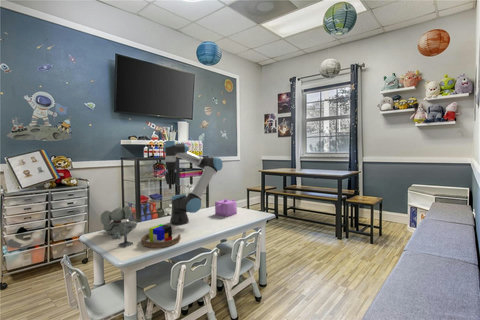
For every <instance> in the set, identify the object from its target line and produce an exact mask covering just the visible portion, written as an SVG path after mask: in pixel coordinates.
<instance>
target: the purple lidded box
mask: <svg viewBox="0 0 480 320" xmlns="http://www.w3.org/2000/svg"><path fill="white" fill-rule="evenodd" d="M237 208H238V207H237V201H236V198H233V199H232V200H229V199H228V198H225V199H221V200H218V201H215V202H214V209H215V210H214V211H215V212H214V213H215V215H217V216H221V217H227V218H229V217H231V216H235V215H237V213H238V212H237V211H238V210H237Z"/></svg>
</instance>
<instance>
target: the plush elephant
mask: <svg viewBox="0 0 480 320" xmlns="http://www.w3.org/2000/svg"><path fill="white" fill-rule="evenodd" d="M131 215H132V208H131V207H130V206H129V205H125V206H124V207H121V206H118V207H117V208H115V209H114V210H112V211H110V210H104V211H103V212H102V213H101V215H100V223H101V224H102V225H103V230H104V231H105V232H108V233H109V234H110V235H114V236H113V237H112V239H115V240H117V238H118V239H119V238H120V239H121V237H122V236H124V223H121V220H123V219H130V217H131ZM130 223H137V222H136V221H131V220H129V222H126V224H130ZM126 227H127V235H128V234H129V232H131V231H132V230H134V229H135V228H136V227H137V225H134V226H126Z"/></svg>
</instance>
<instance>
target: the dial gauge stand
mask: <svg viewBox="0 0 480 320" xmlns="http://www.w3.org/2000/svg"><path fill="white" fill-rule="evenodd" d="M129 219H130V218H129ZM129 219H123V220H121V223H124V235H123V242H121V243H118V247H121V246H122V247H121V248H127V246H128V247H130V246H132V245H133V244H134V243H133V242H132V241H128V234H127V227H126V226H134V225H136V226H137V225H138V223H137V222H136V223H130V224H126V222H129V221H130V220H129ZM131 244H132V245H131ZM129 245H130V246H129Z"/></svg>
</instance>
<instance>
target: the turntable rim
mask: <svg viewBox="0 0 480 320" xmlns="http://www.w3.org/2000/svg"><path fill="white" fill-rule="evenodd" d="M147 240H150V237H149V233H146V234H144V235H143V236H142V237H141V245H142V246H143V247H144V248H145V247H146V248H151V249H154V248H158V249H159V248H166V247H170V246H174V245H176V244H177V243H179V242H180V240H181V234H180V233H178V235H177V236H176V237H174V238H172V240H169V241H164V242H150V241H147Z"/></svg>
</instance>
